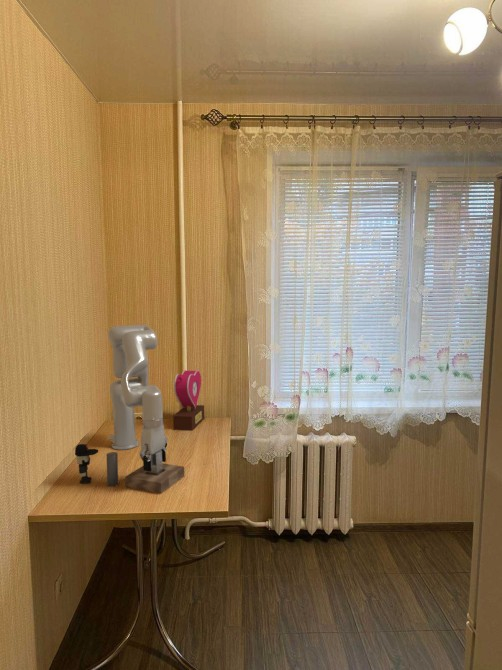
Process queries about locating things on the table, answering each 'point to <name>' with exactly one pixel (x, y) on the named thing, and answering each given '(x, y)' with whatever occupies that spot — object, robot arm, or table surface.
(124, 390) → the robot arm
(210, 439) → the table surface
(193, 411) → the decorative clock
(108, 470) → the round bit
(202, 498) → the table surface
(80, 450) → the toy
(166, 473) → the bore block
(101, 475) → the table surface
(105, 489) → the table surface
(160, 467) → the square bit
